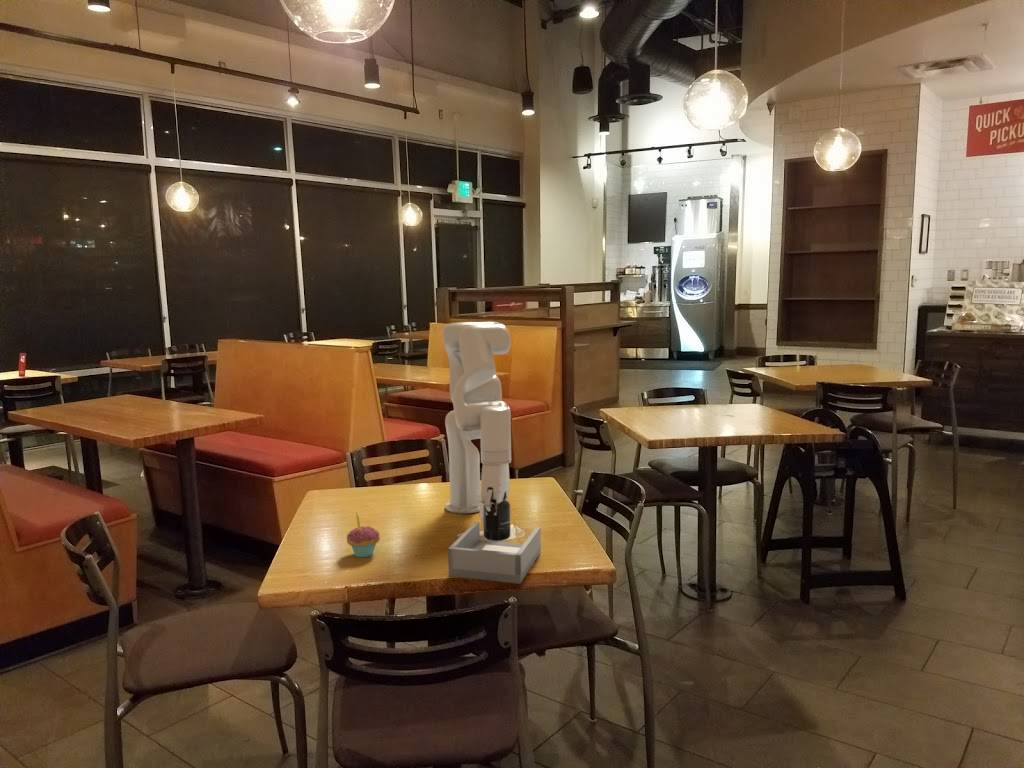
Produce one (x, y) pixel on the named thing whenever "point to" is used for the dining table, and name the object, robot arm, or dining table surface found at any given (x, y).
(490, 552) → the dock
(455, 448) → the robot arm
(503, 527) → the supplement bottle
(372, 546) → the cupcake
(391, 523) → the dining table surface
